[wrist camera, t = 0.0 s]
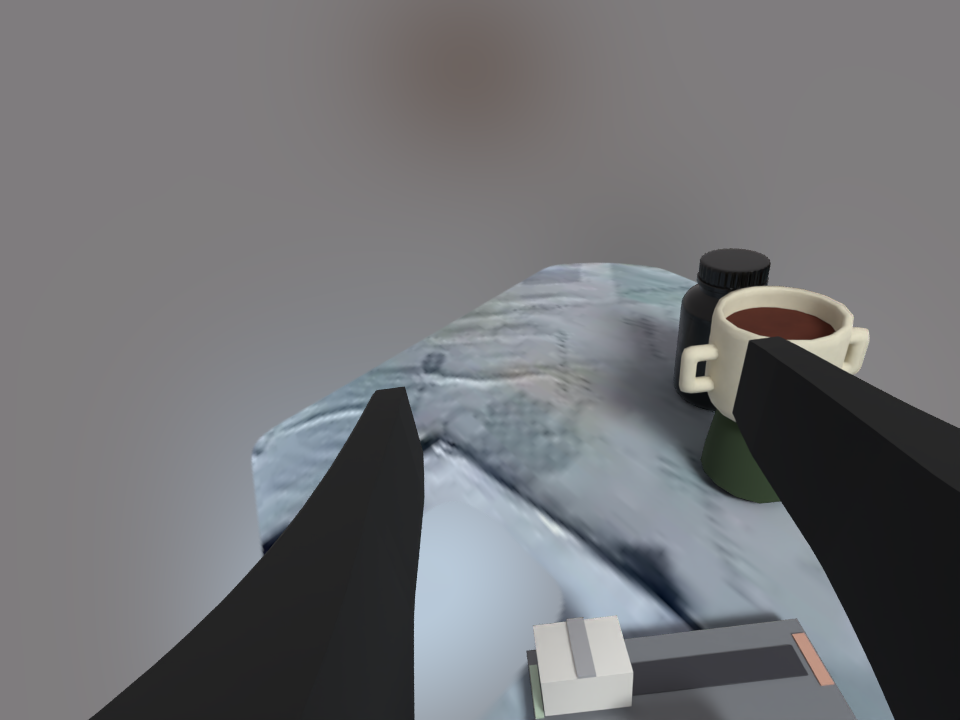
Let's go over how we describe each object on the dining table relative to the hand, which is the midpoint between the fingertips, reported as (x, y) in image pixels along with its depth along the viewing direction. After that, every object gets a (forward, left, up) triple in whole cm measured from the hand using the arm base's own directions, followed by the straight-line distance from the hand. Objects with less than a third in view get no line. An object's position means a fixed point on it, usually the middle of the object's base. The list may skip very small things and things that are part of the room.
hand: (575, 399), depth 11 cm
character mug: (+17, -15, -22) cm, 32 cm away
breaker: (+4, -1, -20) cm, 21 cm away
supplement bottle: (+27, -17, -22) cm, 39 cm away
